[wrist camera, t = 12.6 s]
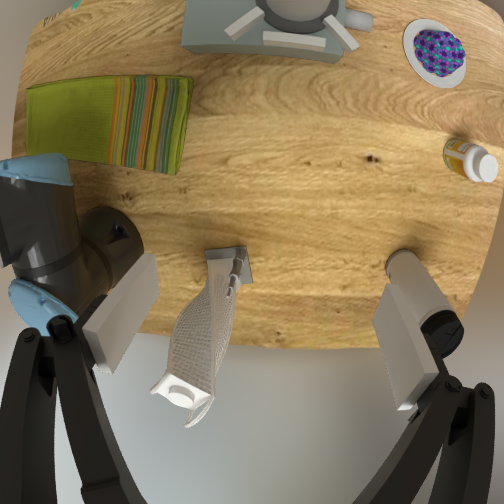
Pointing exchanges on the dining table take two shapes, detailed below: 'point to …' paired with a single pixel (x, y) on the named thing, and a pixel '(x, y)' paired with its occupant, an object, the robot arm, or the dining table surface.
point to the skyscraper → (204, 333)
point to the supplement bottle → (470, 161)
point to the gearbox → (270, 30)
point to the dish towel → (111, 120)
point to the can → (298, 8)
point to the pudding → (435, 53)
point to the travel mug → (425, 301)
